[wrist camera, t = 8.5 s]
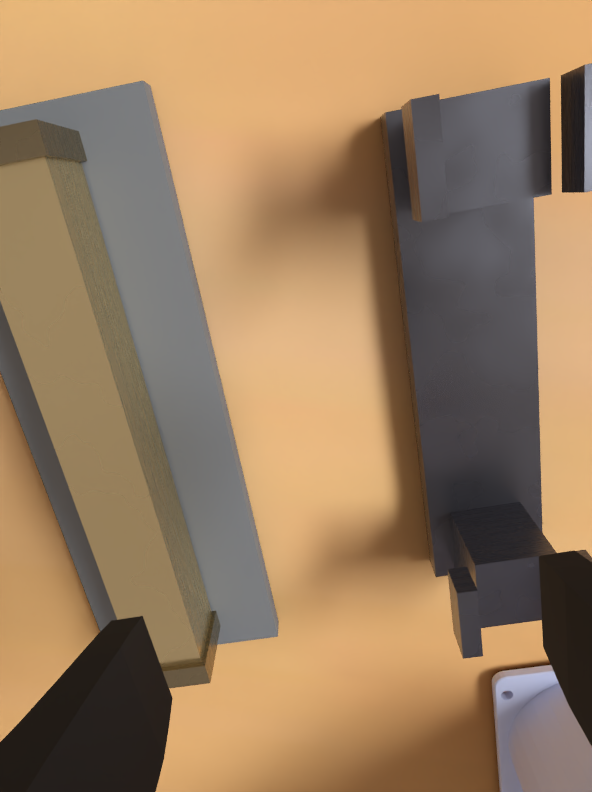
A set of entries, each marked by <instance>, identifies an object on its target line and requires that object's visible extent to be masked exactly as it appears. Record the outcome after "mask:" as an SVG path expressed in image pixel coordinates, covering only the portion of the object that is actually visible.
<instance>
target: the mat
mask: <svg viewBox="0 0 592 792" xmlns="http://www.w3.org/2000/svg"><path fill="white" fill-rule="evenodd" d="M35 119H37V120H41V121H44V122H48V123H51V124H55V125H58V126H62V127H66V128H69V129H73V130H76V131H79V134H80V137H81V141H82V144H83V148H84V151H85V154H86V158H87V161H85V162H81V163H82V166H83V170H84V173H85V177H86V180H87V184H88V187H89V191H90V194H91V197H92V201H93V204H94V208H95V211H96V215H97V218H98V222H99V225H100V229H101V232H102V235H103V239H104V242H105V246H106V249H107V253H108V256H109V260H110V263H111V266H112V270H113V273H114V277H115V280H116V284H117V287H118V291H119V294H120V297H121V301H122V304H123V308H124V311H125V315H126V318H127V322H128V325H129V328H130V332H131V335H132V339H133V342H134V346H135V349H136V353H137V356H138V359H139V363H140V366H141V370H142V373H143V377H144V380H145V384H146V387H147V391H148V394H149V397H150V401H151V404H152V408H153V411H154V415H155V418H156V422H157V425H158V428H159V432H160V435H161V439H162V442H163V446H164V449H165V453H166V456H167V459H168V463H169V466H170V470H171V473H172V477H173V480H174V484H175V487H176V490H177V494H178V497H179V501H180V504H181V508H182V511H183V515H184V518H185V521H186V525H187V528H188V532H189V535H190V539H191V542H192V546H193V549H194V553H195V556H196V559H197V563H198V566H199V570H200V573H201V577H202V580H203V584H204V587H205V590H206V594H207V597H208V601H209V604H210V608H211V611H216V612H217V615H218V619H219V622H220V626H221V627H220V632H219V638H218V643H217V645H218V644H225V643H233V642H240V641H248V640H255V639H262V638H270V637H277V636H278V618H277V614H276V609H275V605H274V601H273V597H272V593H271V588H270V584H269V580H268V576H267V572H266V568H265V563H264V559H263V555H262V551H261V547H260V542H259V538H258V534H257V530H256V526H255V522H254V517H253V513H252V509H251V505H250V501H249V496H248V492H247V488H246V484H245V480H244V475H243V471H242V467H241V463H240V459H239V455H238V450H237V446H236V442H235V438H234V434H233V429H232V425H231V421H230V417H229V413H228V409H227V404H226V400H225V396H224V392H223V388H222V383H221V379H220V375H219V371H218V367H217V363H216V358H215V354H214V350H213V346H212V342H211V337H210V333H209V329H208V325H207V321H206V317H205V312H204V308H203V304H202V300H201V296H200V291H199V287H198V283H197V279H196V275H195V270H194V266H193V262H192V258H191V254H190V250H189V245H188V241H187V237H186V233H185V229H184V224H183V220H182V216H181V212H180V208H179V204H178V199H177V195H176V191H175V187H174V183H173V178H172V174H171V170H170V166H169V162H168V158H167V153H166V149H165V145H164V141H163V137H162V132H161V128H160V124H159V120H158V116H157V112H156V107H155V103H154V99H153V95H152V91H151V86H150V85H148V84H147V83H146V82H144V81H139V82H134V83H130V84H125V85H120V86H115V87H111V88H106V89H101V90H96V91H91V92H87V93H82V94H77V95H72V96H67V97H63V98H58V99H53V100H48V101H44V102H39V103H34V104H29V105H24V106H20V107H15V108H10V109H5V110H0V127H1V126H6V125H11V124H16V123H20V122H25V121H30V120H35ZM0 372H1V375H2V377H3V380H4V382H5V385H6V388H7V390H8V393H9V395H10V398H11V401H12V403H13V406H14V408H15V411H16V414H17V416H18V419H19V421H20V424H21V427H22V429H23V432H24V434H25V437H26V440H27V442H28V445H29V447H30V450H31V453H32V455H33V458H34V460H35V463H36V466H37V468H38V471H39V473H40V476H41V479H42V481H43V484H44V486H45V489H46V492H47V494H48V497H49V499H50V502H51V505H52V507H53V510H54V512H55V515H56V518H57V520H58V523H59V525H60V528H61V531H62V533H63V536H64V539H65V541H66V544H67V546H68V549H69V552H70V554H71V557H72V559H73V562H74V565H75V567H76V570H77V572H78V575H79V578H80V580H81V583H82V585H83V588H84V591H85V593H86V596H87V598H88V601H89V604H90V606H91V609H92V611H93V614H94V617H95V619H96V622H97V624H98V627H99V630H100V632H101V631H102V630H103V629H104V628H105V627H106V626H107V625H108V623H109V622H110V621H112V620H117V617H116V615H115V612H114V609H113V606H112V604H111V601H110V598H109V596H108V593H107V590H106V587H105V585H104V582H103V579H102V577H101V574H100V571H99V568H98V566H97V563H96V560H95V557H94V555H93V552H92V549H91V547H90V544H89V541H88V538H87V536H86V533H85V530H84V527H83V525H82V522H81V519H80V517H79V514H78V511H77V508H76V506H75V503H74V500H73V498H72V495H71V492H70V489H69V487H68V484H67V481H66V478H65V476H64V473H63V470H62V468H61V465H60V462H59V459H58V457H57V454H56V451H55V449H54V446H53V443H52V440H51V438H50V435H49V432H48V429H47V427H46V424H45V421H44V419H43V416H42V413H41V410H40V408H39V405H38V402H37V399H36V397H35V394H34V391H33V389H32V386H31V383H30V380H29V378H28V375H27V372H26V370H25V367H24V364H23V361H22V359H21V356H20V353H19V350H18V348H17V345H16V342H15V340H14V337H13V334H12V331H11V329H10V326H9V323H8V321H7V318H6V315H5V312H4V310H3V307H2V304H1V301H0Z"/></svg>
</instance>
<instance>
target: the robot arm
mask: <svg viewBox="0 0 592 792" xmlns="http://www.w3.org/2000/svg"><path fill="white" fill-rule="evenodd" d="M539 571H540V590H541V610H542V629H543V647H544V649H545V652H546V654H547V656H548V659H549V661H550V664H551V665H546V666H538V667H530V668H522V669H514V670H506V671H501V672H498V673H496V674H495V675H494V676H493V678H492V690H493V704H494V718H495V732H496V746H497V760H498V774H499V788H500V792H592V562H590V561H589V560H588V559H586V558H585V557H583V556H582V555H580V554H579V553H577V552H576V551H569V552H562V553H555V554H549V555H542V556H539ZM504 691H506V692H504ZM171 705H172V696H171V693H170V690H169V687H168V685H167V682H166V679H165V676H164V674H163V671H162V668H161V665H160V663H159V660H158V657H157V654H156V651H155V649H154V646H153V643H152V640H151V638H150V635H149V632H148V629H147V627H146V624H145V621H144V618H143V616H139V617H132V618H125V619H119V620H112V621H110V622H109V623H108V625H107V626H106V627H105V628H104V629H103V630H102V631H101V632H100V633H99V634H98V635H97V636H96V637H95V638H94V640H93V641H92V642H91V643H90V644H89V645H88V646H87V647H86V649H85V650H84V651H83V652H82V653H81V654H80V655H79V656H78V658H77V659H76V660H75V661H74V662H73V663H72V664H71V666H70V667H69V668H68V669H67V670H66V671H65V672H64V673H63V675H62V676H61V677H60V678H59V679H58V680H57V681H56V682H55V684H54V685H53V686H52V687H51V688H50V689H49V690H48V691H47V692H46V694H45V695H44V696H43V697H42V698H41V699H40V700H39V701H38V702H37V704H36V705H35V706H34V707H33V708H32V709H31V710H30V711H29V713H28V714H27V715H26V716H25V717H24V718H23V719H22V720H21V721H20V722H19V723H18V725H17V726H16V727H15V728H14V729H13V730H12V731H11V732H10V733H9V734H8V735H7V736H6V737H5V738H4V739H3V740H2V741H1V742H0V792H155V791H156V787H157V784H158V780H159V776H160V772H161V768H162V764H163V760H164V754H165V747H166V741H167V735H168V728H169V720H170V713H171Z"/></svg>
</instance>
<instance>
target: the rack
mask: <svg viewBox="0 0 592 792" xmlns="http://www.w3.org/2000/svg"><path fill="white" fill-rule="evenodd" d="M401 108H402V109H401V110H396V111H391V112H386V113H384V114H383V115H382V116H381V117H380V119H381V128H382V137H383V145H384V154H385V163H386V172H387V181H388V190H389V199H390V208H391V217H392V226H393V234H394V243H395V252H396V261H397V270H398V279H399V288H400V297H401V306H402V315H403V324H404V332H405V341H406V350H407V359H408V368H409V377H410V386H411V395H412V404H413V413H414V421H415V430H416V439H417V448H418V457H419V466H420V475H421V484H422V493H423V502H424V510H425V519H426V528H427V537H428V546H429V555H430V561H431V564H432V567H433V570H434V573H435V576H436V577H439V576H446V575H448V579H449V589H450V599H451V610H452V620H453V630H454V634H455V637H456V640H457V642H458V645H459V648H460V651H461V654H462V657H463V659H464V658H471V657H479V656H483V652H482V639H481V628H485V627H492V626H500V625H507V624H515V623H522V622H530V621H537V620H542V610H541V590H540V571H539V556H542V555H549V554H555V553H556V552H555V550H554V549H553V547H552V546H551V545H550V543H549V542H548V540H547V539H546V538H545V536H544V535H543V533H542V504H541V466H540V428H539V390H538V352H537V314H536V276H535V238H534V200H533V198H534V197H540V196H545V195H551V194H552V193H551V129H550V78H547V79H542V80H537V81H532V82H527V83H522V84H517V85H512V86H506V87H501V88H496V89H491V90H486V91H481V92H476V93H471V94H466V95H461V96H456V97H451V98H446V99H441V100H439V94H437V95H432V96H427V97H422V98H416V99H411V100H410V101H408V102H407V103H406V104H405V105H404V106H402V107H401ZM561 130H562V192H589V191H592V64H587V65H584V66H581V67H579V68H577V69H575V70H572V71H570V72H568V73H566V74H564V75H561ZM576 552H577V553H579V554H580V555H582V556H583V557H585V558H586V559H588V560H589V561H590V562H592V557H591V556H590V555H589V554H588V552H587V551H586V550H580V551H576Z"/></svg>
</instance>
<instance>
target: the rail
mask: <svg viewBox="0 0 592 792" xmlns="http://www.w3.org/2000/svg"><path fill="white" fill-rule="evenodd" d="M85 161H87V158H86V154H85V151H84V148H83V144H82V141H81V137H80V134H79V131H76V130H73V129H69V128H66V127H62V126H58V125H55V124H51V123H48V122H44V121H41V120H37V119H35V120H30V121H25V122H20V123H16V124H11V125H6V126H1V127H0V301H1V304H2V307H3V310H4V312H5V315H6V318H7V321H8V323H9V326H10V329H11V331H12V334H13V337H14V340H15V342H16V345H17V348H18V350H19V353H20V356H21V359H22V361H23V364H24V367H25V370H26V372H27V375H28V378H29V380H30V383H31V386H32V389H33V391H34V394H35V397H36V399H37V402H38V405H39V408H40V410H41V413H42V416H43V419H44V421H45V424H46V427H47V429H48V432H49V435H50V438H51V440H52V443H53V446H54V449H55V451H56V454H57V457H58V459H59V462H60V465H61V468H62V470H63V473H64V476H65V478H66V481H67V484H68V487H69V489H70V492H71V495H72V498H73V500H74V503H75V506H76V508H77V511H78V514H79V517H80V519H81V522H82V525H83V527H84V530H85V533H86V536H87V538H88V541H89V544H90V547H91V549H92V552H93V555H94V557H95V560H96V563H97V566H98V568H99V571H100V574H101V577H102V579H103V582H104V585H105V587H106V590H107V593H108V596H109V598H110V601H111V604H112V606H113V609H114V612H115V615H116V617H117V620H119V619H125V618H132V617H139V616H143V618H144V621H145V624H146V627H147V629H148V632H149V635H150V638H151V640H152V643H153V646H154V649H155V651H156V654H157V657H158V660H159V663H160V665H161V668H162V671H163V674H164V676H165V679H166V682H167V685H168V687H169V688H175V687H183V686H191V685H198V684H206V683H210V681H211V676H212V670H213V665H214V660H215V654H216V649H217V643H218V638H219V632H220V627H221V626H220V622H219V619H218V615H217V612H216V611H211V608H210V604H209V601H208V597H207V594H206V590H205V587H204V584H203V580H202V577H201V573H200V570H199V566H198V563H197V559H196V556H195V553H194V549H193V546H192V542H191V539H190V535H189V532H188V528H187V525H186V521H185V518H184V515H183V511H182V508H181V504H180V501H179V497H178V494H177V490H176V487H175V484H174V480H173V477H172V473H171V470H170V466H169V463H168V459H167V456H166V453H165V449H164V446H163V442H162V439H161V435H160V432H159V428H158V425H157V422H156V418H155V415H154V411H153V408H152V404H151V401H150V397H149V394H148V391H147V387H146V384H145V380H144V377H143V373H142V370H141V366H140V363H139V359H138V356H137V353H136V349H135V346H134V342H133V339H132V335H131V332H130V328H129V325H128V322H127V318H126V315H125V311H124V308H123V304H122V301H121V297H120V294H119V291H118V287H117V284H116V280H115V277H114V273H113V270H112V266H111V263H110V260H109V256H108V253H107V249H106V246H105V242H104V239H103V235H102V232H101V229H100V225H99V222H98V218H97V215H96V211H95V208H94V204H93V201H92V197H91V194H90V191H89V187H88V184H87V180H86V177H85V173H84V170H83V166H82V163H81V162H85Z"/></svg>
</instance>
